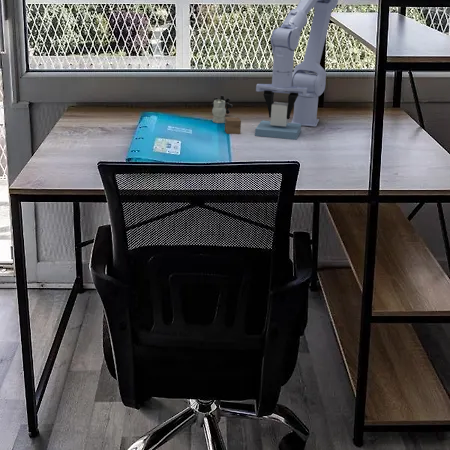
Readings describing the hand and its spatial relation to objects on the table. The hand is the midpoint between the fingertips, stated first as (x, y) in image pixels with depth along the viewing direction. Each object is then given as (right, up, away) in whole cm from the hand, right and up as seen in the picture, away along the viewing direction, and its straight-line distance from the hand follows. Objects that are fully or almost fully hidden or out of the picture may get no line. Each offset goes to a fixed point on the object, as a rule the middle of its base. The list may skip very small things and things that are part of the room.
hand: (279, 117), depth 242 cm
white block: (0, -2, +1) cm, 2 cm away
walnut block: (-14, -4, 0) cm, 14 cm away
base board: (0, -4, +2) cm, 5 cm away
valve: (-18, +1, +16) cm, 24 cm away
